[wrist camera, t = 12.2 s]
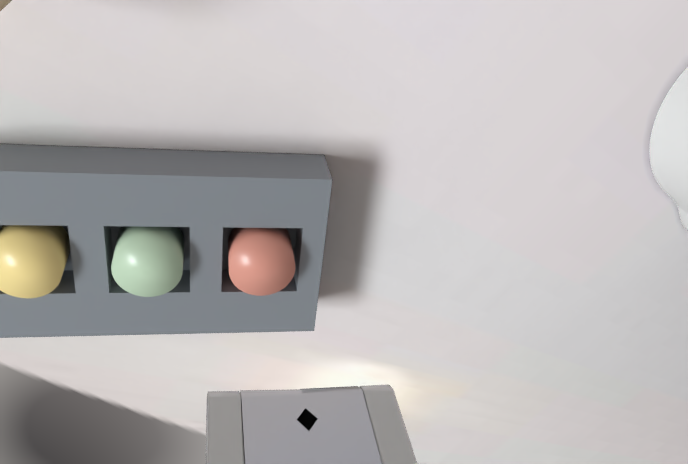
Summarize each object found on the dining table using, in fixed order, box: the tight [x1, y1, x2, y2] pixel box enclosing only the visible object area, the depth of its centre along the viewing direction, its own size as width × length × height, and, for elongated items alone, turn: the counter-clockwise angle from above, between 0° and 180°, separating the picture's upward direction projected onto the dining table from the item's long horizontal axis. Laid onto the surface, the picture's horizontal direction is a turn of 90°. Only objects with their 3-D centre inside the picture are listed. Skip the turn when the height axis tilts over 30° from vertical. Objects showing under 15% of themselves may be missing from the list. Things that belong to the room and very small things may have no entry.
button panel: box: [0, 144, 332, 338], centre depth 42 cm, size 22×12×4 cm, turn 83°
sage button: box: [111, 226, 184, 297], centre depth 41 cm, size 4×4×3 cm
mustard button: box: [0, 225, 70, 298], centre depth 40 cm, size 4×4×3 cm
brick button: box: [228, 228, 295, 296], centre depth 43 cm, size 4×4×3 cm
